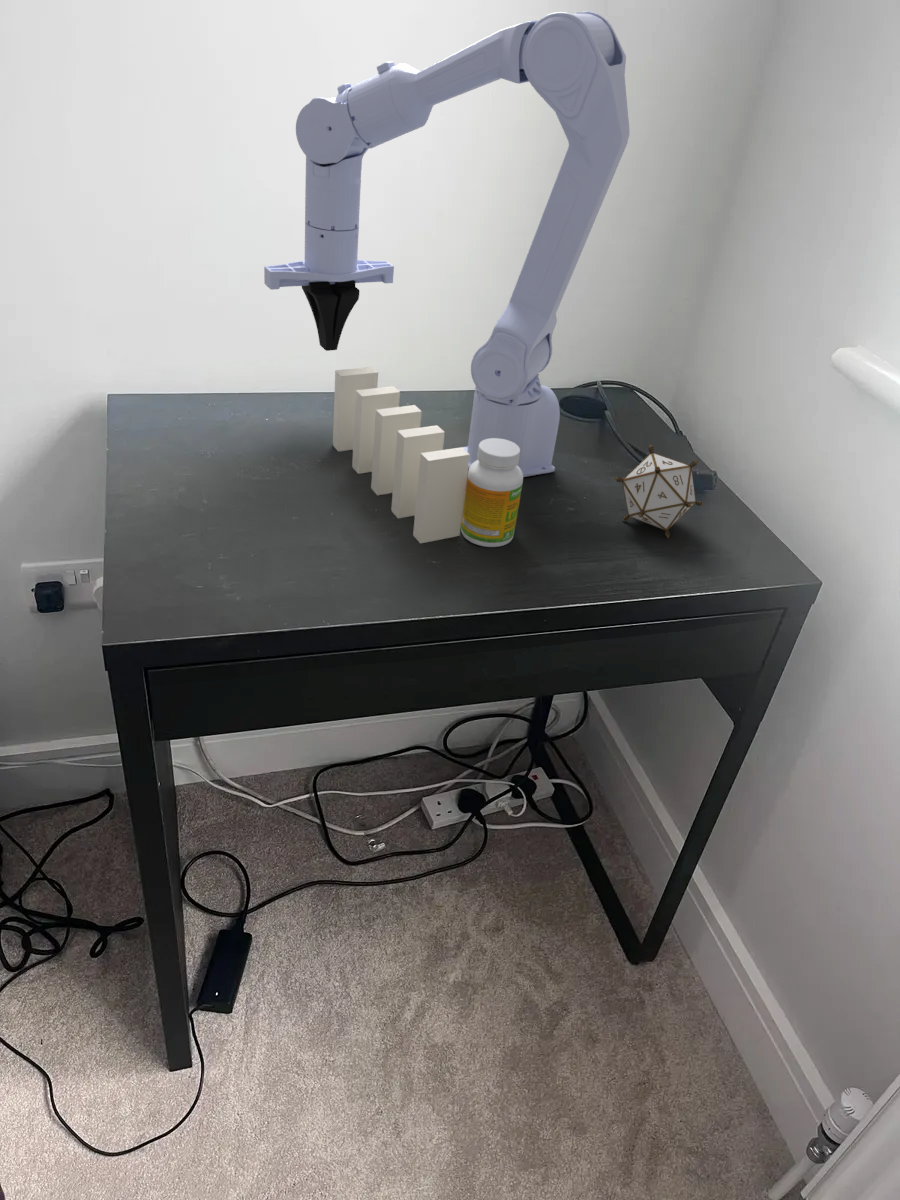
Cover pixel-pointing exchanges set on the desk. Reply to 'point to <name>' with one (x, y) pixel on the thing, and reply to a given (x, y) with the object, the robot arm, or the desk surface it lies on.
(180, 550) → the desk surface
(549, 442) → the robot arm
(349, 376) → the domino
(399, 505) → the domino
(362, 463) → the domino
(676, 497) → the game die
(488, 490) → the supplement bottle
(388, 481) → the domino
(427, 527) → the domino
